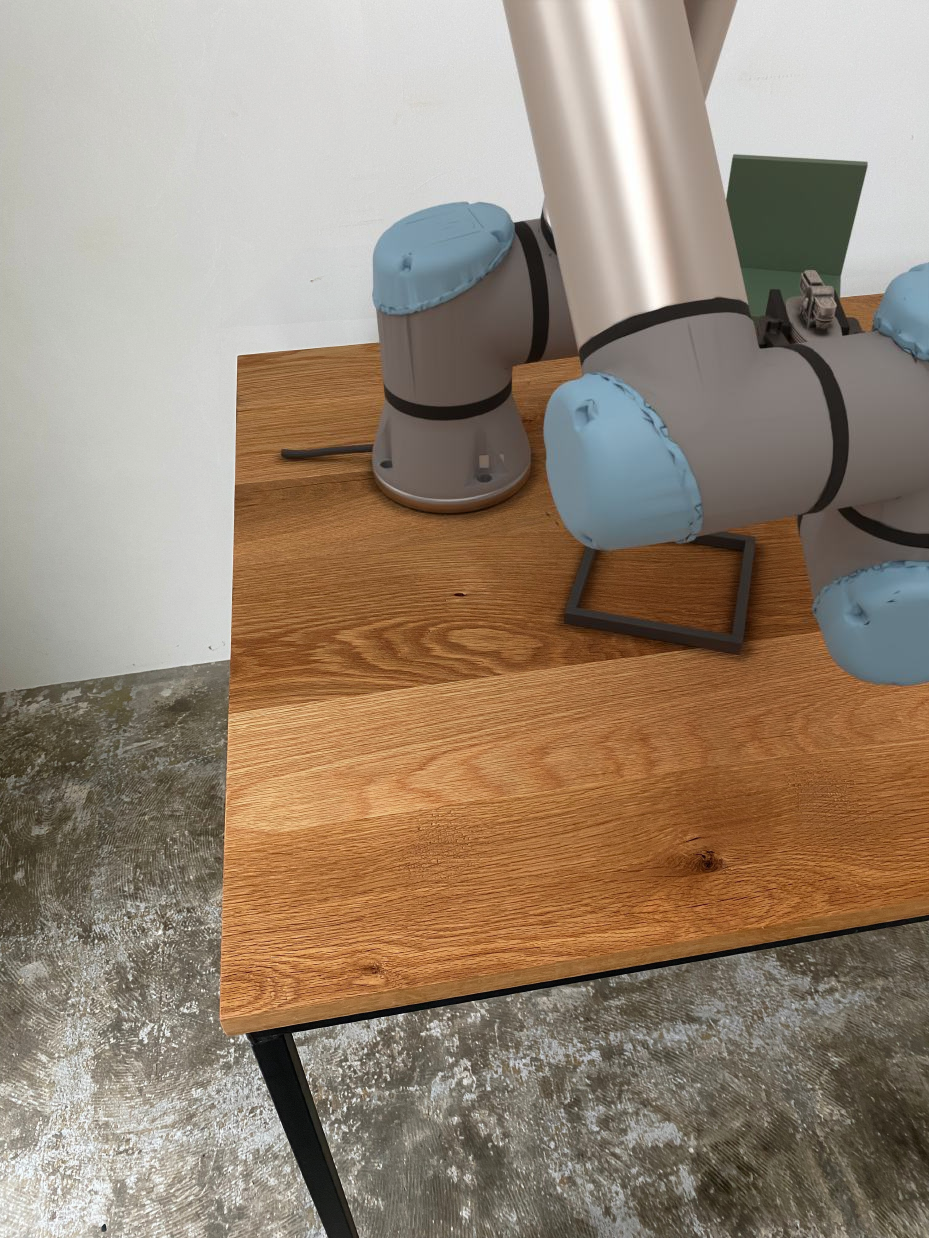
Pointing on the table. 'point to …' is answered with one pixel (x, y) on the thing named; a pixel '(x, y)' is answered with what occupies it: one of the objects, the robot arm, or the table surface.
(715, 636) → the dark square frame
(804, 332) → the lighter
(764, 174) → the chair
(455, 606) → the table surface
